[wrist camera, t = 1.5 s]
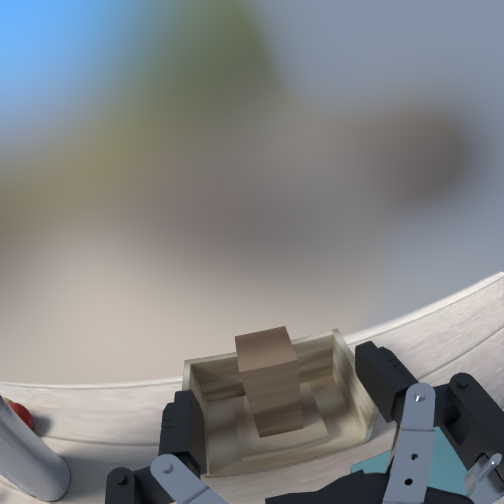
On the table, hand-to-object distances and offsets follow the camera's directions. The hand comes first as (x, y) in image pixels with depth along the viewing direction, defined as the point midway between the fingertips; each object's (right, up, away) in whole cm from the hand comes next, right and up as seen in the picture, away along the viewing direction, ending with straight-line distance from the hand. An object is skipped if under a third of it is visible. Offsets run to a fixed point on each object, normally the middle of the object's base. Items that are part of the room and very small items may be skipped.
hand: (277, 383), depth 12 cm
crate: (+2, -16, +18) cm, 25 cm away
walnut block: (+2, -13, +17) cm, 22 cm away
